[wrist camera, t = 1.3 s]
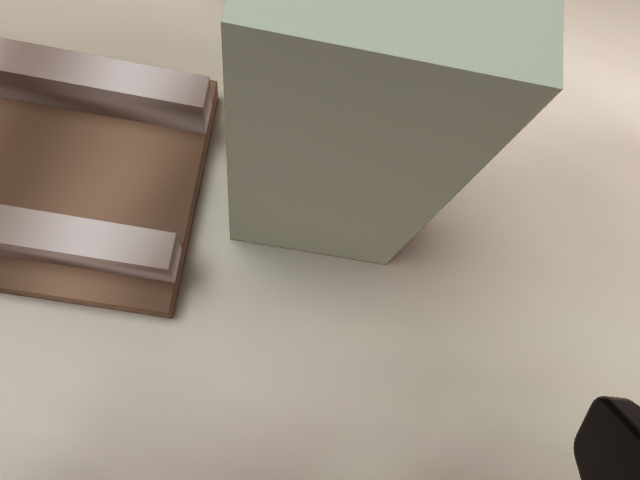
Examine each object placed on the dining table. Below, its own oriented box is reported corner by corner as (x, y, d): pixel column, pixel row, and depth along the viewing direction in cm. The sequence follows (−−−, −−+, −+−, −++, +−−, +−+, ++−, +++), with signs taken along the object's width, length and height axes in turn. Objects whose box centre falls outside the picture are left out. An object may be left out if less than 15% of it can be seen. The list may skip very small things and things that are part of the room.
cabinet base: (218, 97, 24) (213, 18, 19) (172, 318, 21) (153, 291, 16) (-101, 38, 23) (-191, -62, 18) (-191, 263, 20) (-325, 217, 15)
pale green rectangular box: (391, 204, 23) (564, -28, 11) (385, 264, 23) (562, 89, 10) (241, 178, 23) (245, -96, 11) (230, 238, 22) (220, 21, 10)
